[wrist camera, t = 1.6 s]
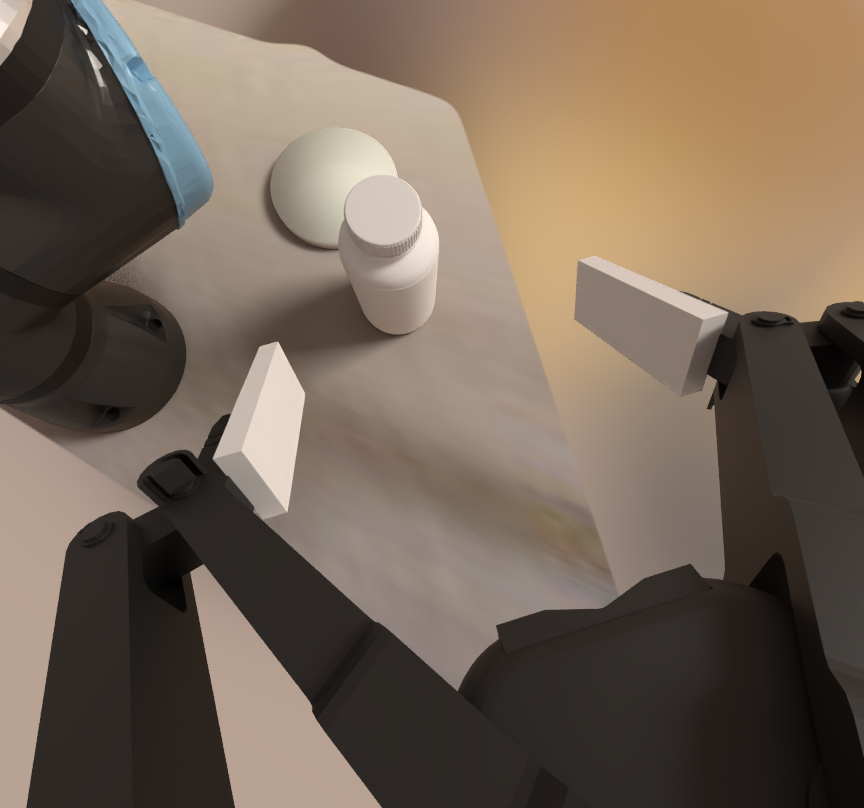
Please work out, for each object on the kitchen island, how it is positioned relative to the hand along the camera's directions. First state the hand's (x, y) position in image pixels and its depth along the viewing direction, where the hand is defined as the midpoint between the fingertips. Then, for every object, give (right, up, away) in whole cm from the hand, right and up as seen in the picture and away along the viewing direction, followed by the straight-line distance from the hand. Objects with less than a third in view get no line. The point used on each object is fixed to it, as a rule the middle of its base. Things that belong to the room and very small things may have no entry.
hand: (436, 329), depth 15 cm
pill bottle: (-4, +8, +23) cm, 25 cm away
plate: (-11, +21, +25) cm, 34 cm away
